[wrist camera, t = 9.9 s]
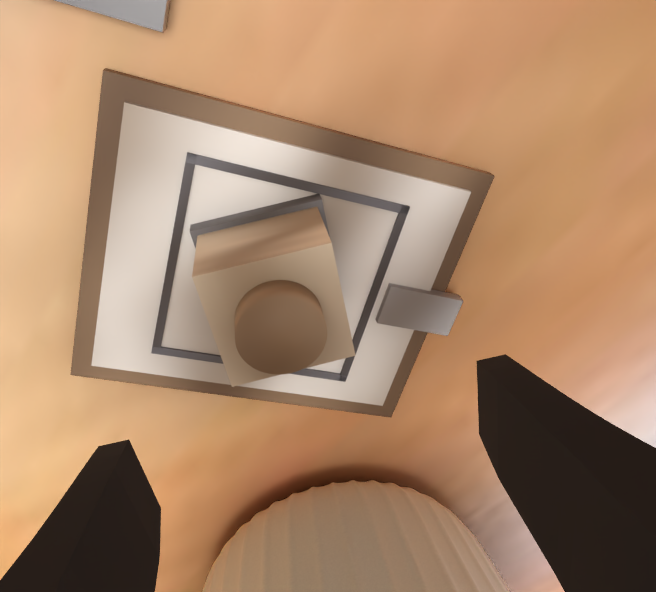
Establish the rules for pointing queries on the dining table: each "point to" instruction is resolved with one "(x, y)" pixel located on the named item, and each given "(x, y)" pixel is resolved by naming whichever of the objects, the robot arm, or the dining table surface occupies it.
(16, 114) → the dining table surface
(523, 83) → the dining table surface
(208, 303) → the stamp
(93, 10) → the ink tray
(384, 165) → the clipboard
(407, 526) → the canister
